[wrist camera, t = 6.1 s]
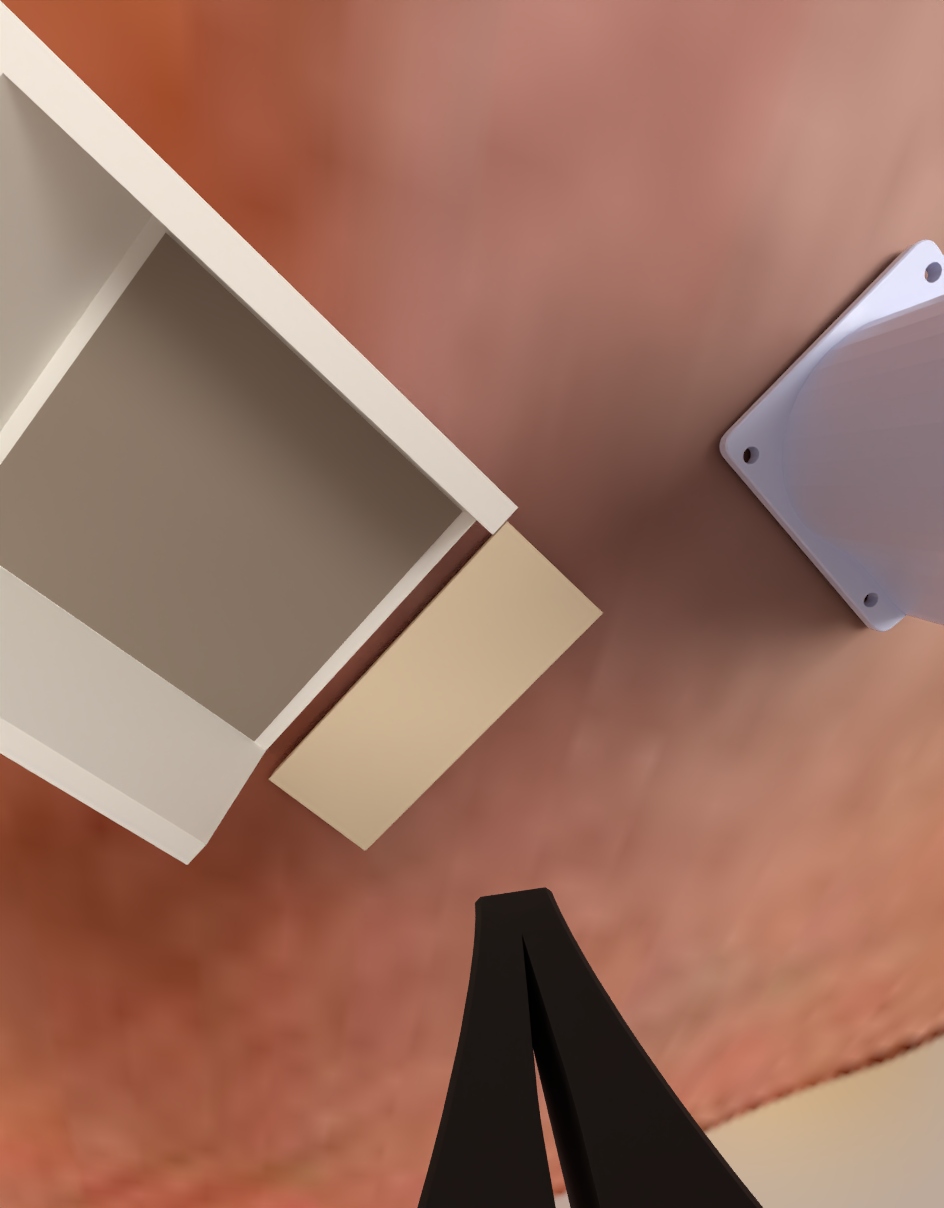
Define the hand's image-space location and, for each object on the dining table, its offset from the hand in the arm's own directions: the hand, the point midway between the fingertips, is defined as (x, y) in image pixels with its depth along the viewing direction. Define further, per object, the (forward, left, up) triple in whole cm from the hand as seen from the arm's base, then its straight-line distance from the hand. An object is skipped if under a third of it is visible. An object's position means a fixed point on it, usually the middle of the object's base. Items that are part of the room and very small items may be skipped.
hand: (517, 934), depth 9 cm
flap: (+4, 0, -8) cm, 9 cm away
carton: (+11, 0, -8) cm, 14 cm away
